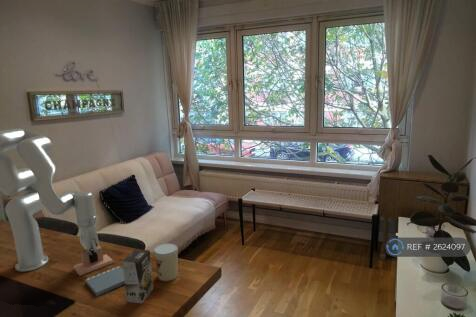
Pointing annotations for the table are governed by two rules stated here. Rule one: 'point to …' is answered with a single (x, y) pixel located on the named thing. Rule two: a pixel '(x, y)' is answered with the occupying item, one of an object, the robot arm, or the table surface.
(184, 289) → the table surface
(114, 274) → the light blue box
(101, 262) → the pink stepped block
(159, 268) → the coffee cup
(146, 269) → the coffee box
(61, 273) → the table surface
